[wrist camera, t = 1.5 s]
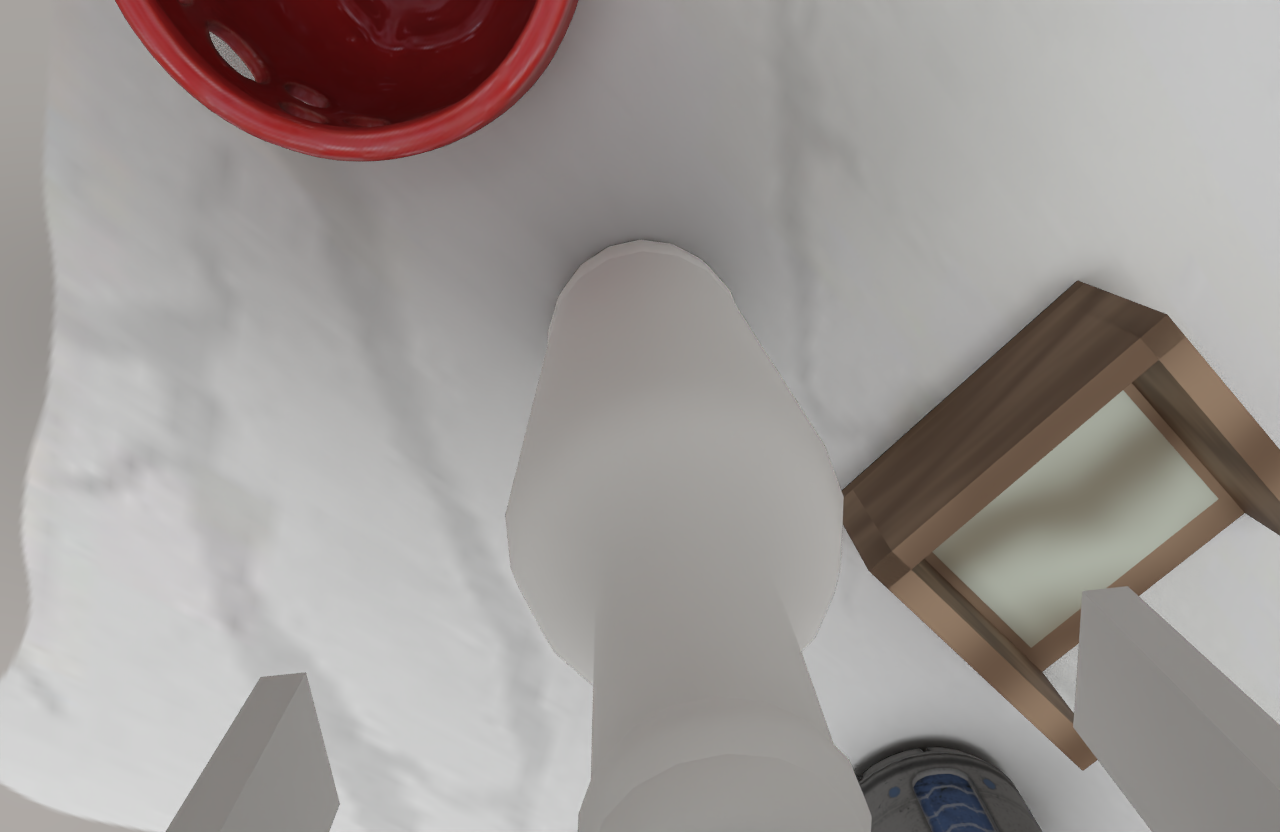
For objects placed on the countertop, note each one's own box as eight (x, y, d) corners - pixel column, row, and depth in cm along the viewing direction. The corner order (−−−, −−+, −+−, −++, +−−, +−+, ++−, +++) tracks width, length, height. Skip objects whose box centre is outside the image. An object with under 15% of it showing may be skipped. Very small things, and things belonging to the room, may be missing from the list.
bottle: (768, 290, 39) (1212, 809, 10) (681, 443, 41) (849, 1220, 12) (602, 203, 37) (583, 527, 9) (521, 367, 39) (297, 1047, 11)
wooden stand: (830, 501, 42) (868, 570, 36) (1077, 280, 39) (1167, 314, 33) (1017, 679, 46) (1082, 770, 39) (1257, 490, 43) (1369, 557, 36)
